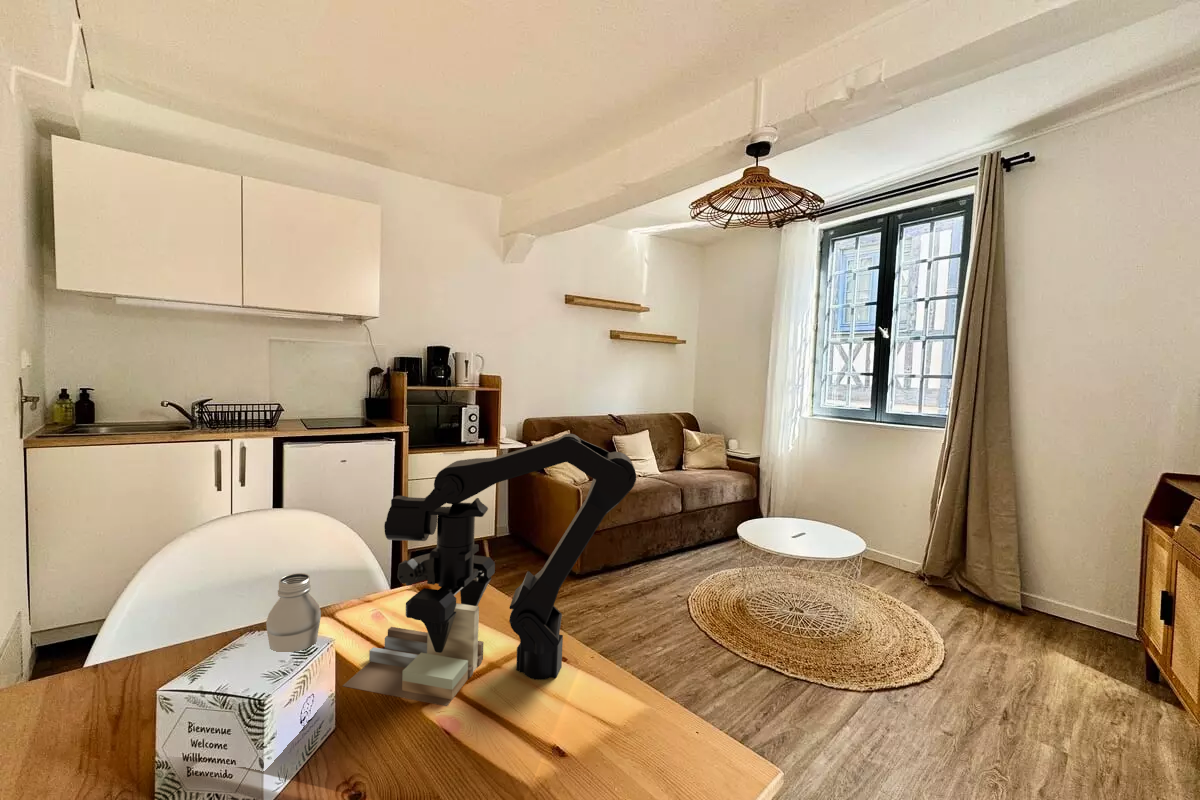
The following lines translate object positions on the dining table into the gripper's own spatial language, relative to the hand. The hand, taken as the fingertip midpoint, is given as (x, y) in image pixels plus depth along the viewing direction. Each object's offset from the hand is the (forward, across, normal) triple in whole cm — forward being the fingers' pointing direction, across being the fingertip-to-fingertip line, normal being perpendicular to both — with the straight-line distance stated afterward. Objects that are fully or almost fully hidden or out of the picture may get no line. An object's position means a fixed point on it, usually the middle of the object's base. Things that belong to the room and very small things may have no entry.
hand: (453, 636), depth 81 cm
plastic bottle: (+6, +16, -15) cm, 23 cm away
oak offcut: (+5, +5, 0) cm, 7 cm away
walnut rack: (+6, +3, -5) cm, 8 cm away
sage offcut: (+3, +5, 0) cm, 6 cm away
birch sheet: (+5, 0, 0) cm, 5 cm away
